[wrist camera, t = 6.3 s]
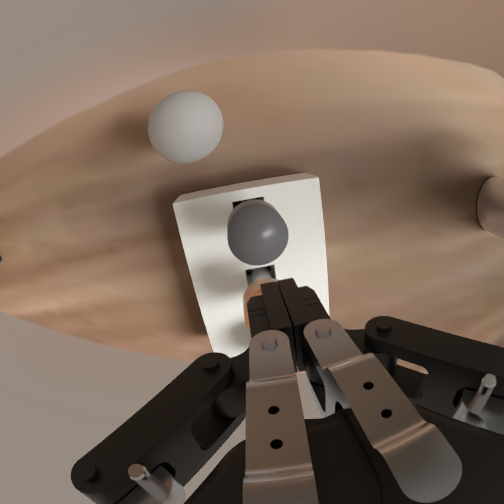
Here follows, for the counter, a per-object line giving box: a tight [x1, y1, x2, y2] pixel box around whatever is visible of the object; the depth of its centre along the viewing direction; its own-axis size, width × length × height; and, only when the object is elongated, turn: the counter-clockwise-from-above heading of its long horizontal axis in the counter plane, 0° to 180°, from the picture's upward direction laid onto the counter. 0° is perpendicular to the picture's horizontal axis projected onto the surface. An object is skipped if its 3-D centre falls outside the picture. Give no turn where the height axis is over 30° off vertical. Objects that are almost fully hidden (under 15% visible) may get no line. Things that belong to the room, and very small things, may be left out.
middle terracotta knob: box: [243, 267, 278, 331], centre depth 27 cm, size 4×4×8 cm
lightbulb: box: [148, 91, 224, 164], centre depth 24 cm, size 6×6×11 cm
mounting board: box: [173, 173, 329, 357], centre depth 32 cm, size 14×19×5 cm
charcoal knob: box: [227, 199, 289, 266], centre depth 25 cm, size 4×4×8 cm
